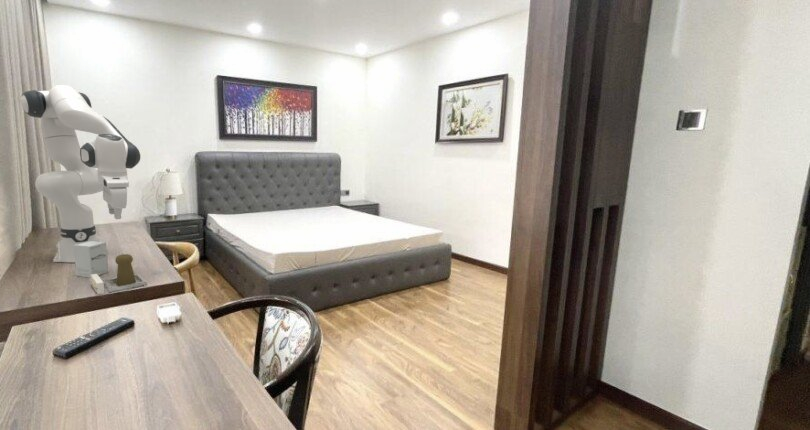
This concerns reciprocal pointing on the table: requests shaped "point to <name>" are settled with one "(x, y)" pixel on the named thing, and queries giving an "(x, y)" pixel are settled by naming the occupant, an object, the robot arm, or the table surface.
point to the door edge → (97, 283)
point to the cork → (124, 270)
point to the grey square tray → (112, 286)
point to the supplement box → (90, 258)
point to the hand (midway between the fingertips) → (115, 216)
